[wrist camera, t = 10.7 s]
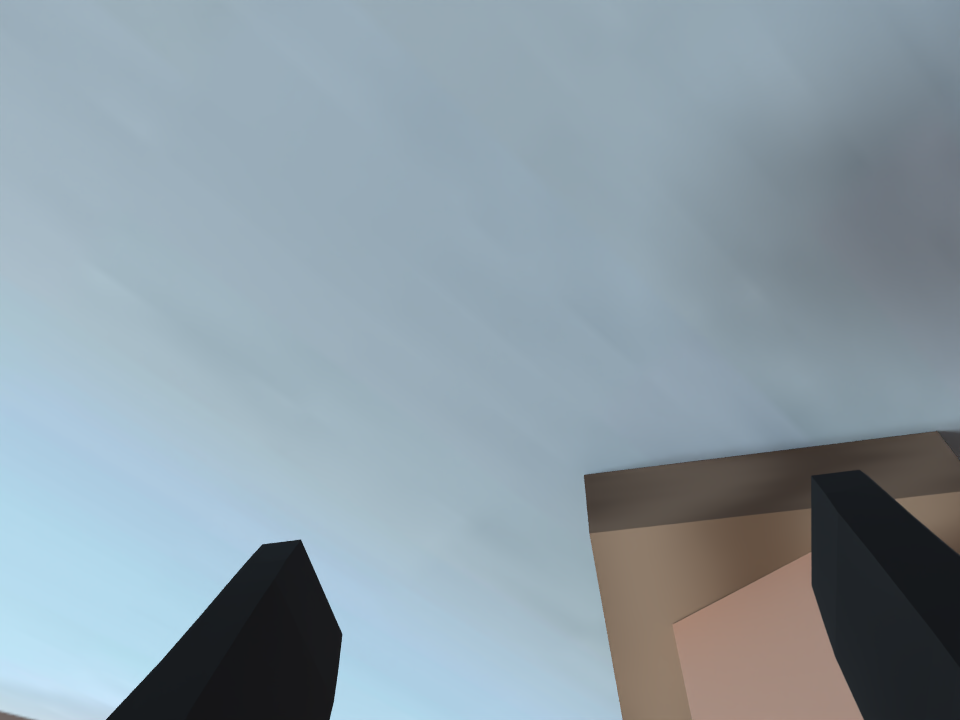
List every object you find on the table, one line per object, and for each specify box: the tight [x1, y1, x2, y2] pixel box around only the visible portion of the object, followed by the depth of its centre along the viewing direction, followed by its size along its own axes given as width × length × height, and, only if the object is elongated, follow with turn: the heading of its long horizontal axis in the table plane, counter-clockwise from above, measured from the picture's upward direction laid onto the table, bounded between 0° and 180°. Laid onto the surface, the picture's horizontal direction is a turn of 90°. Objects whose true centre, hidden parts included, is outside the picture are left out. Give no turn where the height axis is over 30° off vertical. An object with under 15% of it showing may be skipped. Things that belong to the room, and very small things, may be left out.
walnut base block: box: [584, 431, 960, 720], centre depth 24 cm, size 10×10×3 cm
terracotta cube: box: [672, 552, 864, 720], centre depth 21 cm, size 5×5×5 cm
